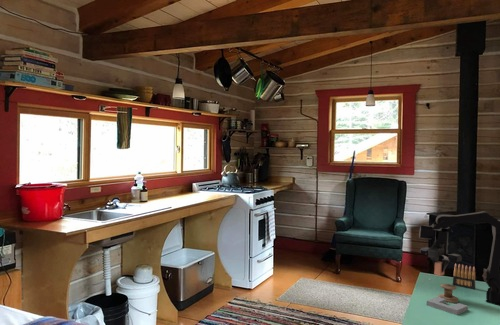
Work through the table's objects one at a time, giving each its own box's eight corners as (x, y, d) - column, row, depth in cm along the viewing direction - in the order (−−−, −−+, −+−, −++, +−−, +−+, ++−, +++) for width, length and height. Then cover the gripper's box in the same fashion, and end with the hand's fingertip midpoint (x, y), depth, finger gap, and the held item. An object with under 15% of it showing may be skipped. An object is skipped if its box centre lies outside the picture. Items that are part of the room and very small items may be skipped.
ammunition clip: (452, 285, 222) (453, 263, 222) (453, 284, 224) (454, 262, 223) (474, 289, 216) (475, 267, 215) (475, 288, 217) (476, 266, 217)
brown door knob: (461, 300, 199) (462, 287, 198) (452, 304, 193) (453, 290, 193) (443, 295, 206) (444, 282, 205) (434, 298, 200) (434, 285, 200)
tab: (444, 274, 205) (444, 262, 204) (440, 275, 202) (440, 263, 202) (438, 273, 207) (439, 261, 207) (434, 274, 205) (435, 262, 204)
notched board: (467, 310, 186) (467, 305, 186) (456, 314, 180) (457, 310, 180) (437, 300, 197) (437, 296, 197) (426, 304, 191) (426, 300, 191)
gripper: (415, 238, 207) (413, 268, 207) (451, 246, 192) (449, 279, 192) (427, 236, 213) (425, 265, 214) (463, 243, 199) (461, 275, 199)
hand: (439, 271), depth 205 cm, fingers closed on tab, 3 cm apart
